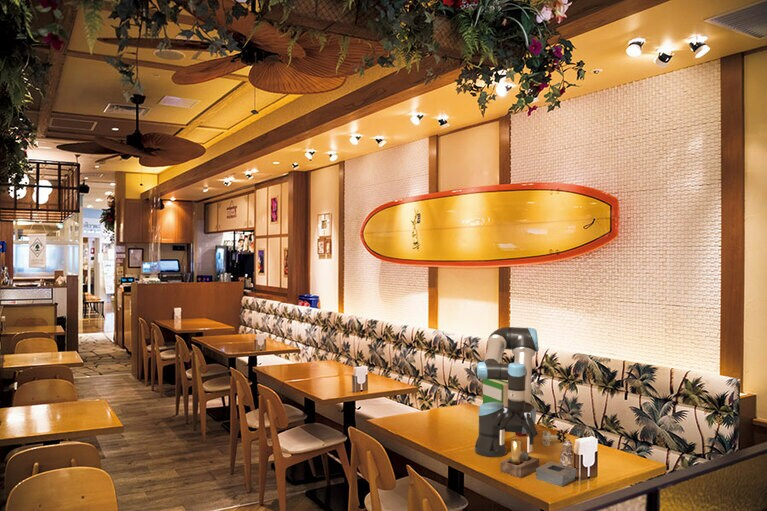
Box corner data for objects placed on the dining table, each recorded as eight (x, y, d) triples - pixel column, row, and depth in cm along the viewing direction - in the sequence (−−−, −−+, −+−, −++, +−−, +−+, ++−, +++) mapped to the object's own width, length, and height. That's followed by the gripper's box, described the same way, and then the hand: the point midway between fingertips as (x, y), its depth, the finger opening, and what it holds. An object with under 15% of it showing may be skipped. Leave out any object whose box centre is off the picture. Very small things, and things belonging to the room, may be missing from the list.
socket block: (536, 478, 252) (536, 468, 252) (549, 471, 260) (549, 461, 260) (562, 486, 243) (562, 475, 244) (575, 479, 252) (575, 468, 252)
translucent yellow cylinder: (508, 472, 258) (509, 440, 258) (513, 470, 261) (514, 438, 261) (517, 475, 256) (517, 442, 256) (521, 472, 259) (522, 440, 259)
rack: (500, 472, 259) (500, 456, 259) (519, 463, 271) (519, 447, 271) (520, 478, 252) (521, 461, 252) (539, 468, 264) (539, 453, 264)
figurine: (557, 468, 265) (557, 441, 265) (561, 463, 271) (562, 437, 271) (573, 471, 262) (574, 444, 262) (577, 466, 268) (578, 440, 268)
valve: (547, 447, 295) (566, 444, 300) (547, 433, 295) (566, 431, 300) (538, 443, 301) (557, 440, 306) (538, 430, 301) (557, 427, 306)
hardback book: (511, 426, 329) (512, 383, 330) (500, 428, 326) (501, 384, 326) (492, 418, 345) (493, 377, 346) (482, 420, 342) (483, 378, 342)
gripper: (487, 395, 264) (486, 443, 264) (538, 405, 247) (537, 457, 247) (496, 393, 270) (495, 439, 270) (546, 402, 253) (546, 452, 253)
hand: (515, 448), depth 259 cm, fingers open, 13 cm apart
